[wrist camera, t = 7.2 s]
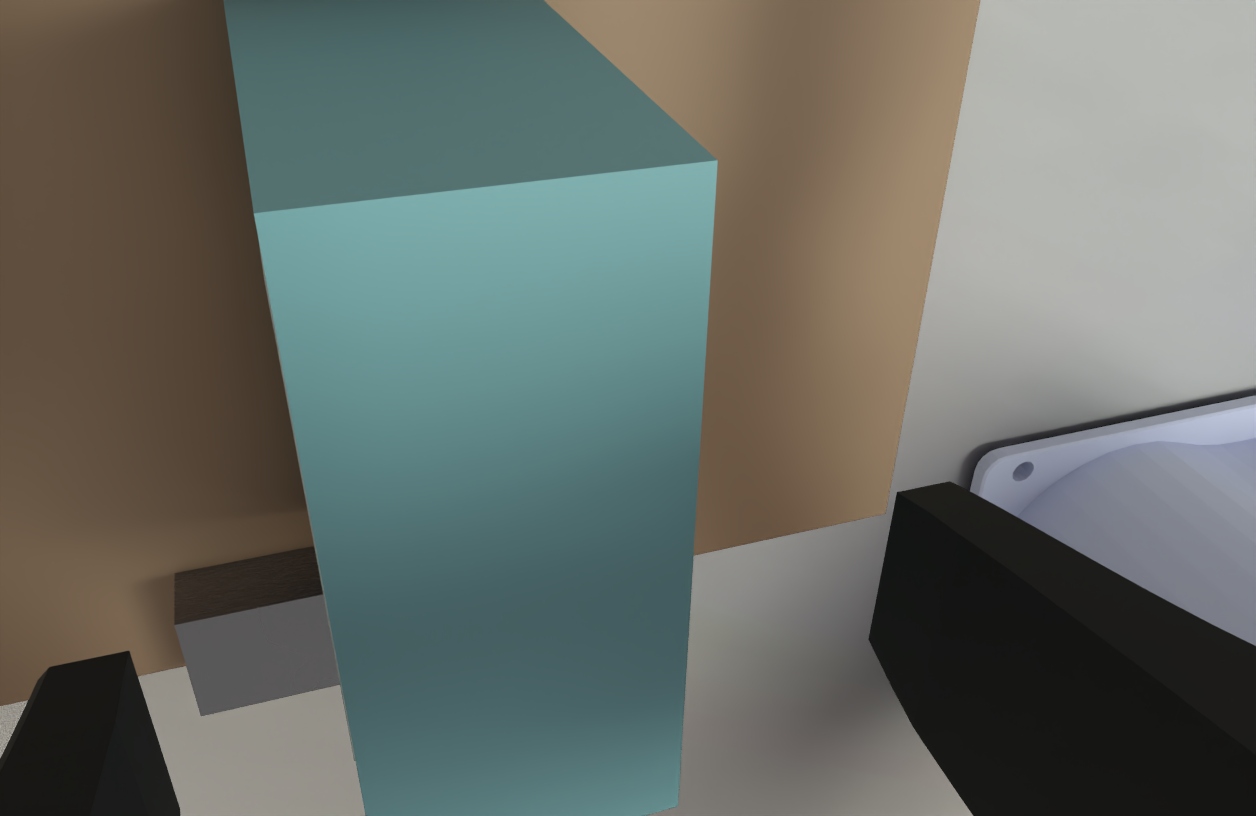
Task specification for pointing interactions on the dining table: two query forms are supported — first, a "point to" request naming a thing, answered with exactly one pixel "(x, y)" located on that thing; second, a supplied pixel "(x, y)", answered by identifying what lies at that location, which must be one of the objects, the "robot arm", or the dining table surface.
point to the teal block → (486, 390)
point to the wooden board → (245, 341)
